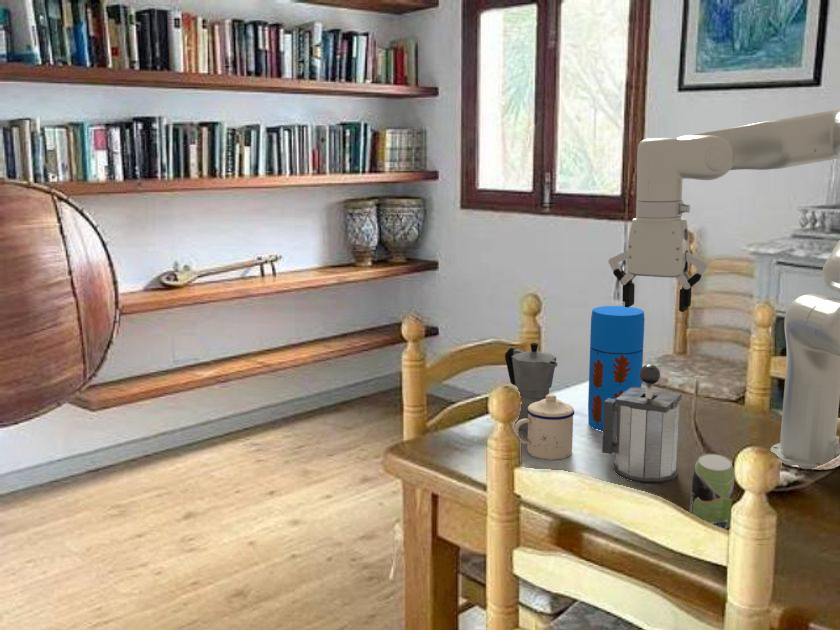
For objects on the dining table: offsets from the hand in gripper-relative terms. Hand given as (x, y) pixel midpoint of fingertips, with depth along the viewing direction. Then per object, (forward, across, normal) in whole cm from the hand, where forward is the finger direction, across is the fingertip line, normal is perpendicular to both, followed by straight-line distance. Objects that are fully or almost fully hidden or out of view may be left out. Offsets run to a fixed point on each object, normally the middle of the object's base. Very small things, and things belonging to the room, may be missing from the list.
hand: (656, 308), depth 149 cm
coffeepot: (+31, +31, -13) cm, 45 cm away
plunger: (+28, +1, +1) cm, 28 cm away
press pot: (+31, +2, +1) cm, 31 cm away
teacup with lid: (+31, +21, +2) cm, 37 cm away
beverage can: (+31, -15, +19) cm, 39 cm away
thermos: (+31, +15, -21) cm, 40 cm away
